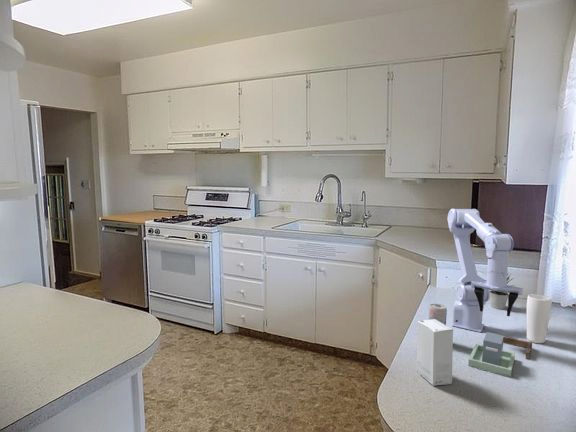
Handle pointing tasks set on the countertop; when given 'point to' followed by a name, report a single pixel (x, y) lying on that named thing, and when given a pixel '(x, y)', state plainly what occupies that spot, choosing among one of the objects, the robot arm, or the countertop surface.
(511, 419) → the countertop surface
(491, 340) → the grey box with handle
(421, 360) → the skincare box
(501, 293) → the house plant
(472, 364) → the tray
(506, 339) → the frame
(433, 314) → the energy drink
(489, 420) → the countertop surface
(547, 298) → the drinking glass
